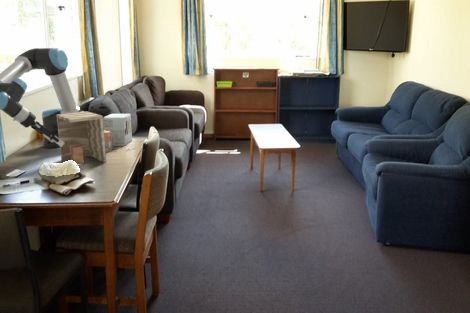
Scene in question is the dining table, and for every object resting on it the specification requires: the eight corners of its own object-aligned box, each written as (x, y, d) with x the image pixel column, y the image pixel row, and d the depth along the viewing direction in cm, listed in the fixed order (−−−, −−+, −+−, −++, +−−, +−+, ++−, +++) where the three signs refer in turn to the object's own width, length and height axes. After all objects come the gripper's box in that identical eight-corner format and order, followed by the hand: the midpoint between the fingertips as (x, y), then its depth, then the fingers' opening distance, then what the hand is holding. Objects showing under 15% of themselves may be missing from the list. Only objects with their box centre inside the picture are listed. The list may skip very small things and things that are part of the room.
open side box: (61, 160, 258) (56, 114, 251) (91, 155, 268) (87, 111, 262) (75, 167, 242) (70, 119, 236) (106, 162, 252) (102, 115, 246)
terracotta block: (71, 163, 250) (69, 145, 248) (80, 162, 253) (78, 144, 251) (74, 165, 246) (72, 147, 244) (83, 164, 249) (82, 145, 247)
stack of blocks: (73, 152, 275) (71, 132, 272) (77, 150, 281) (75, 130, 278) (109, 152, 274) (107, 132, 271) (112, 150, 280) (111, 130, 277)
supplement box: (125, 146, 290) (123, 117, 286) (104, 146, 291) (102, 117, 286) (133, 140, 307) (131, 113, 302) (113, 140, 308) (111, 113, 303)
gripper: (12, 120, 236) (46, 144, 249) (26, 126, 217) (62, 152, 230) (22, 108, 238) (55, 133, 251) (37, 114, 219) (71, 140, 232)
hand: (58, 142), depth 241 cm, fingers open, 13 cm apart
